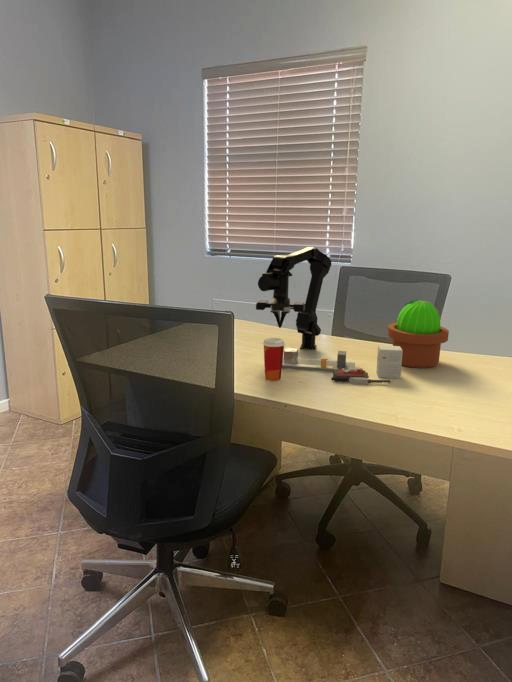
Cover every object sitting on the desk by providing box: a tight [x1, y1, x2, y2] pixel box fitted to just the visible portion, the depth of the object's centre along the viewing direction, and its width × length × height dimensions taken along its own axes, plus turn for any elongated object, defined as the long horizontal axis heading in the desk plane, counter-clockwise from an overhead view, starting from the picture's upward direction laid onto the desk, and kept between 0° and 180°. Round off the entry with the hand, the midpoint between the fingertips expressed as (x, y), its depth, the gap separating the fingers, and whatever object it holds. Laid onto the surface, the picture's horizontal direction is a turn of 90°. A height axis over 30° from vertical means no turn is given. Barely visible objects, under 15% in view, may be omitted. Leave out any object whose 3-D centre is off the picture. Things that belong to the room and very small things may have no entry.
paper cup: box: [262, 337, 286, 382], centre depth 182 cm, size 8×8×14 cm
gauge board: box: [282, 350, 356, 373], centre depth 197 cm, size 10×30×6 cm, turn 79°
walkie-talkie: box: [330, 367, 391, 386], centre depth 183 cm, size 9×4×20 cm
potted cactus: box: [387, 299, 450, 369], centre depth 202 cm, size 22×22×25 cm
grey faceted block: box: [283, 347, 299, 364], centre depth 197 cm, size 7×5×4 cm, turn 169°
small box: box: [376, 345, 403, 379], centre depth 187 cm, size 8×6×10 cm
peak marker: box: [320, 356, 328, 367], centre depth 192 cm, size 2×2×3 cm
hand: (280, 327), depth 207 cm, fingers closed
